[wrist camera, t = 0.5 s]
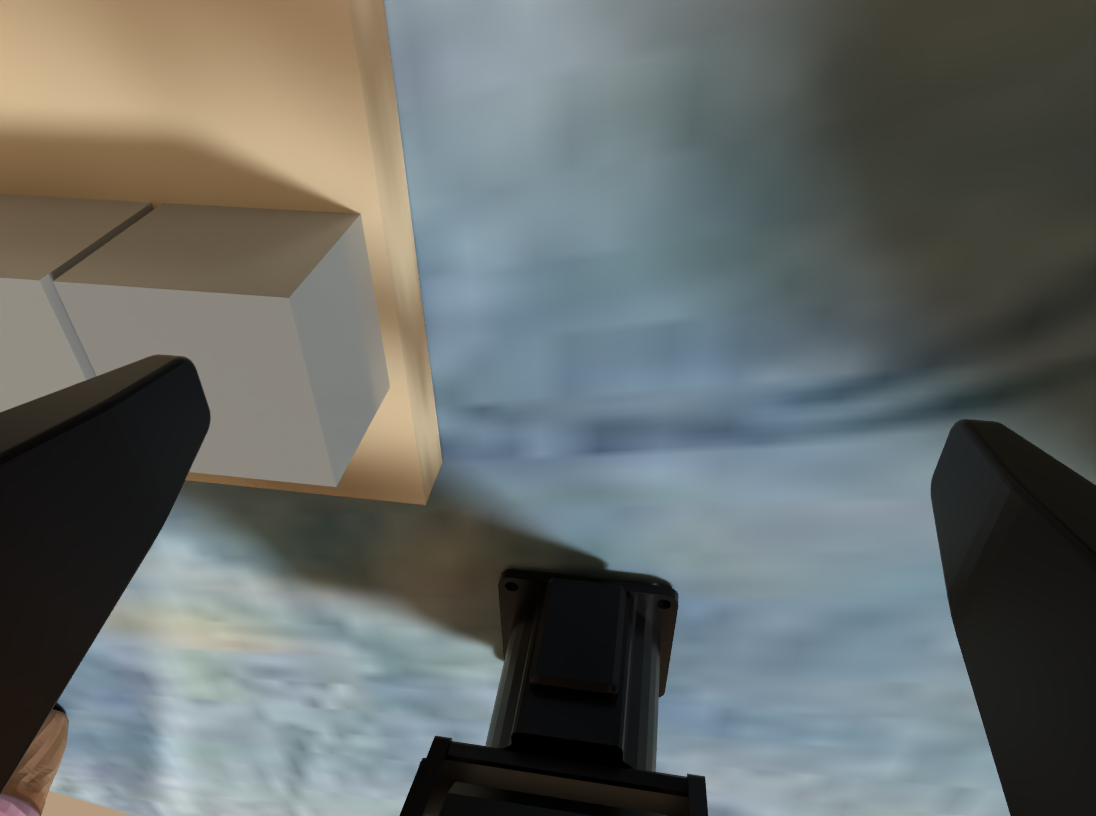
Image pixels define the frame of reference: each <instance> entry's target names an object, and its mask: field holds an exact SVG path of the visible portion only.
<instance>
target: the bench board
mask: <svg viewBox="0 0 1096 816" xmlns="http://www.w3.org/2000/svg"><path fill="white" fill-rule="evenodd" d="M0 194H7V195H26V196H44V197H62V198H80V199H98V200H116V201H135V202H152V205H153V208H154V209H155V208H157V207H158V206H160V205H161V204H162V203H171V204H189V205H207V206H226V207H244V208H262V209H280V210H298V211H317V212H335V213H353V214H361V218H362V224H363V230H364V235H365V241H366V247H367V253H368V259H369V265H370V271H371V277H372V282H373V288H374V294H375V300H376V306H377V312H378V318H379V324H380V329H381V335H382V341H383V347H384V353H385V359H386V365H387V370H388V376H389V382H390V388H389V390H388V392H387V394H386V396H385V398H384V399H383V401H382V403H381V405H380V407H379V409H378V411H377V412H376V414H375V416H374V418H373V420H372V422H371V424H370V425H369V427H368V429H367V431H366V433H365V435H364V437H363V438H362V440H361V442H360V444H359V446H358V448H357V450H356V451H355V453H354V455H353V457H352V459H351V461H350V463H349V464H348V466H347V468H346V470H345V472H344V474H343V476H342V477H341V479H340V481H339V483H338V485H337V487H331V486H321V485H311V484H301V483H292V482H282V481H272V480H262V479H253V478H243V477H233V476H223V475H214V474H204V473H194V472H189V473H188V475H187V477H186V479H185V480H188V481H198V482H208V483H217V484H227V485H236V486H246V487H256V488H265V489H275V490H285V491H294V492H304V493H313V494H323V495H333V496H342V497H352V498H361V499H371V500H381V501H390V502H400V503H409V504H419V505H426V503H427V501H428V498H429V496H430V493H431V490H432V488H433V485H434V483H435V480H436V478H437V475H438V473H439V470H440V468H441V465H442V455H441V447H440V439H439V431H438V424H437V416H436V408H435V400H434V392H433V384H432V376H431V369H430V361H429V353H428V345H427V337H426V329H425V321H424V314H423V306H422V298H421V290H420V282H419V274H418V267H417V259H416V251H415V243H414V235H413V227H412V219H411V212H410V204H409V196H408V188H407V180H406V172H405V164H404V157H403V149H402V141H401V133H400V125H399V117H398V110H397V102H396V94H395V86H394V78H393V70H392V62H391V55H390V47H389V39H388V31H387V23H386V15H385V7H384V0H0Z"/></svg>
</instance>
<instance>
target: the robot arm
mask: <svg viewBox="0 0 1096 816" xmlns="http://www.w3.org/2000/svg"><path fill="white" fill-rule="evenodd" d="M210 420H211V415H210V409H209V406H208V402H207V399H206V396H205V393H204V390H203V387H202V384H201V381H200V378H199V375H198V372H197V369H196V367H195V365H194V363H193V362H192V361H191V360H190V359H188V358H187V357H184V356H173V355H161V354H158V355H152V356H149V357H147V358H144V359H141V360H139V361H136V362H133V363H131V364H128V365H125V366H123V367H120V368H117V369H115V370H112V371H109V372H107V373H104V374H101V375H99V376H96V377H93V378H91V379H88V380H85V381H83V382H80V383H77V384H75V385H72V386H69V387H67V388H64V389H61V390H59V391H56V392H53V393H51V394H48V395H45V396H43V397H40V398H37V399H34V400H32V401H29V402H26V403H24V404H21V405H18V406H16V407H13V408H10V409H8V410H5V411H2V412H0V794H1V793H2V791H3V789H4V788H5V786H6V785H7V783H8V781H9V780H10V778H11V776H12V775H13V773H14V771H15V770H16V768H17V766H18V765H19V763H20V762H21V760H22V758H23V757H24V755H25V753H26V752H27V750H28V748H29V747H30V745H31V743H32V742H33V740H34V739H35V737H36V735H37V734H38V732H39V730H40V729H41V727H42V725H43V724H44V722H45V720H46V719H47V717H48V716H49V714H50V712H51V711H52V709H53V707H54V706H55V704H56V702H57V701H58V699H59V697H60V696H61V694H62V693H63V691H64V689H65V688H66V686H67V684H68V683H69V681H70V679H71V678H72V676H73V674H74V673H75V671H76V670H77V668H78V666H79V665H80V663H81V661H82V660H83V658H84V656H85V655H86V653H87V651H88V650H89V648H90V647H91V645H92V643H93V642H94V640H95V638H96V637H97V635H98V633H99V632H100V630H101V628H102V627H103V625H104V623H105V622H106V620H107V619H108V617H109V615H110V614H111V612H112V610H113V609H114V607H115V605H116V604H117V602H118V600H119V599H120V597H121V596H122V594H123V592H124V591H125V589H126V587H127V586H128V584H129V582H130V581H131V579H132V577H133V576H134V574H135V573H136V571H137V569H138V568H139V566H140V564H141V563H142V561H143V559H144V558H145V556H146V554H147V553H148V551H149V550H150V548H151V546H152V545H153V543H154V541H155V539H156V538H157V536H158V534H159V532H160V531H161V529H162V527H163V525H164V523H165V521H166V519H167V517H168V515H169V513H170V511H171V509H172V507H173V505H174V503H175V501H176V498H177V496H178V494H179V492H180V490H181V488H182V486H183V483H184V481H185V479H186V477H187V475H188V473H189V471H190V469H191V466H192V464H193V462H194V460H195V458H196V456H197V454H198V451H199V449H200V447H201V445H202V443H203V441H204V439H205V437H206V434H207V432H208V430H209V426H210ZM931 500H932V507H933V513H934V519H935V525H936V531H937V537H938V543H939V549H940V555H941V561H942V567H943V573H944V579H945V585H946V591H947V597H948V602H949V607H950V612H951V617H952V620H953V624H954V628H955V631H956V635H957V639H958V642H959V645H960V649H961V652H962V655H963V659H964V662H965V665H966V669H967V672H968V675H969V679H970V682H971V685H972V689H973V692H974V695H975V699H976V702H977V705H978V709H979V712H980V715H981V719H982V722H983V725H984V729H985V732H986V735H987V739H988V742H989V745H990V749H991V752H992V755H993V759H994V762H995V765H996V769H997V772H998V775H999V778H1000V782H1001V785H1002V788H1003V792H1004V795H1005V798H1006V802H1007V805H1008V808H1009V812H1010V815H1011V816H1096V485H1094V484H1093V483H1091V482H1090V481H1088V480H1087V479H1085V478H1084V477H1082V476H1081V475H1079V474H1078V473H1076V472H1075V471H1073V470H1072V469H1070V468H1069V467H1067V466H1065V465H1064V464H1062V463H1061V462H1059V461H1058V460H1056V459H1055V458H1053V457H1052V456H1050V455H1049V454H1047V453H1046V452H1044V451H1043V450H1041V449H1039V448H1038V447H1036V446H1035V445H1033V444H1032V443H1030V442H1029V441H1027V440H1026V439H1024V438H1023V437H1021V436H1020V435H1018V434H1017V433H1015V432H1014V431H1012V430H1010V429H1009V428H1007V427H1006V426H1004V425H1003V424H1001V423H998V422H994V421H981V420H968V419H962V420H960V421H958V422H956V423H955V424H954V426H953V427H952V428H951V430H950V433H949V435H948V438H947V440H946V443H945V446H944V448H943V451H942V453H941V456H940V458H939V461H938V464H937V466H936V469H935V471H934V474H933V477H932V482H931ZM498 587H499V600H500V613H501V626H502V639H503V652H504V665H503V670H502V674H501V679H500V683H499V688H498V692H497V696H496V701H495V705H494V710H493V714H492V719H491V723H490V728H489V732H488V737H487V741H486V746H481V745H474V744H468V743H461V742H455V741H452V738H448V737H441V736H435V738H434V740H433V743H432V745H431V748H430V750H429V753H428V755H427V758H423V759H422V761H421V762H420V765H419V768H418V771H417V773H416V776H415V778H414V781H413V783H412V786H411V788H410V791H409V793H408V796H407V798H406V801H405V803H404V806H403V808H402V811H401V813H400V816H708V808H707V796H706V783H705V776H699V775H692V774H687V777H685V776H678V775H671V774H665V773H658V772H656V752H657V725H658V699H659V697H661V696H663V695H664V693H665V687H666V681H667V674H668V668H669V662H670V655H671V649H672V642H673V636H674V629H675V623H676V617H677V610H678V593H677V592H676V591H675V590H674V589H672V588H670V587H666V586H657V585H649V584H640V583H631V582H622V581H613V580H604V579H596V578H587V577H578V576H569V575H560V574H551V573H543V572H534V571H525V570H516V569H508V570H505V571H503V572H502V573H501V577H500V580H499V585H498Z"/></svg>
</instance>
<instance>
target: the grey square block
mask: <svg viewBox="0 0 1096 816" xmlns="http://www.w3.org/2000/svg"><path fill="white" fill-rule="evenodd" d="M53 283H54V285H55V287H56V289H57V292H58V294H59V296H60V298H61V300H62V302H63V305H64V307H65V309H66V311H67V313H68V315H69V317H70V320H71V322H72V324H73V326H74V328H75V330H76V333H77V335H78V337H79V339H80V341H81V343H82V346H83V348H84V350H85V352H86V354H87V356H88V359H89V361H90V363H91V365H92V367H93V369H94V372H95V374H96V376H99V375H101V374H104V373H107V372H109V371H112V370H115V369H117V368H120V367H123V366H125V365H128V364H131V363H133V362H136V361H139V360H141V359H144V358H147V357H149V356H152V355H158V354H161V355H173V356H184V357H187V358H188V359H190V360H191V361H192V362H193V363H194V365H195V367H196V369H197V372H198V375H199V378H200V381H201V384H202V387H203V390H204V393H205V396H206V399H207V402H208V406H209V409H210V415H211V420H210V426H209V430H208V432H207V434H206V437H205V439H204V441H203V443H202V445H201V447H200V449H199V451H198V454H197V456H196V458H195V460H194V462H193V464H192V466H191V469H190V471H189V472H194V473H204V474H214V475H223V476H233V477H243V478H253V479H262V480H272V481H282V482H292V483H301V484H311V485H321V486H331V487H337V485H338V483H339V481H340V479H341V477H342V476H343V474H344V472H345V470H346V468H347V466H348V464H349V463H350V461H351V459H352V457H353V455H354V453H355V451H356V450H357V448H358V446H359V444H360V442H361V440H362V438H363V437H364V435H365V433H366V431H367V429H368V427H369V425H370V424H371V422H372V420H373V418H374V416H375V414H376V412H377V411H378V409H379V407H380V405H381V403H382V401H383V399H384V398H385V396H386V394H387V392H388V390H389V388H390V382H389V376H388V370H387V365H386V359H385V353H384V347H383V341H382V335H381V329H380V324H379V318H378V312H377V306H376V300H375V294H374V288H373V282H372V277H371V271H370V265H369V259H368V253H367V247H366V241H365V235H364V230H363V224H362V218H361V214H353V213H335V212H317V211H298V210H280V209H262V208H244V207H226V206H207V205H189V204H171V203H162V204H161V205H160V206H158V207H157V208H155V209H154V210H152V211H151V212H150V213H148V214H147V215H145V216H144V217H143V218H141V219H140V220H138V221H137V222H136V223H134V224H133V225H131V226H130V227H129V228H127V229H126V230H124V231H123V232H122V233H120V234H119V235H117V236H116V237H114V238H113V239H112V240H110V241H109V242H107V243H106V244H105V245H103V246H102V247H100V248H99V249H98V250H96V251H95V252H93V253H92V254H91V255H89V256H88V257H86V258H85V259H84V260H82V261H81V262H79V263H78V264H76V265H75V266H74V267H72V268H71V269H69V270H68V271H67V272H65V273H64V274H62V275H61V276H60V277H58V278H57V279H55V280H54V281H53Z"/></svg>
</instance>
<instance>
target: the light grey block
mask: <svg viewBox="0 0 1096 816" xmlns="http://www.w3.org/2000/svg"><path fill="white" fill-rule="evenodd" d="M152 210H154V208H153V205H152V202H135V201H116V200H98V199H80V198H62V197H44V196H26V195H7V194H0V412H2V411H5V410H8V409H10V408H13V407H16V406H18V405H21V404H24V403H26V402H29V401H32V400H34V399H37V398H40V397H43V396H45V395H48V394H51V393H53V392H56V391H59V390H61V389H64V388H67V387H69V386H72V385H75V384H77V383H80V382H83V381H85V380H88V379H91V378H93V377H96V374H95V372H94V369H93V367H92V365H91V363H90V361H89V359H88V356H87V354H86V352H85V350H84V348H83V346H82V343H81V341H80V339H79V337H78V335H77V333H76V330H75V328H74V326H73V324H72V322H71V320H70V317H69V315H68V313H67V311H66V309H65V307H64V305H63V302H62V300H61V298H60V296H59V294H58V292H57V289H56V287H55V285H54V283H53V281H54V280H55V279H57V278H58V277H60V276H61V275H62V274H64V273H65V272H67V271H68V270H69V269H71V268H72V267H74V266H75V265H76V264H78V263H79V262H81V261H82V260H84V259H85V258H86V257H88V256H89V255H91V254H92V253H93V252H95V251H96V250H98V249H99V248H100V247H102V246H103V245H105V244H106V243H107V242H109V241H110V240H112V239H113V238H114V237H116V236H117V235H119V234H120V233H122V232H123V231H124V230H126V229H127V228H129V227H130V226H131V225H133V224H134V223H136V222H137V221H138V220H140V219H141V218H143V217H144V216H145V215H147V214H148V213H150V212H151V211H152Z"/></svg>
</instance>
